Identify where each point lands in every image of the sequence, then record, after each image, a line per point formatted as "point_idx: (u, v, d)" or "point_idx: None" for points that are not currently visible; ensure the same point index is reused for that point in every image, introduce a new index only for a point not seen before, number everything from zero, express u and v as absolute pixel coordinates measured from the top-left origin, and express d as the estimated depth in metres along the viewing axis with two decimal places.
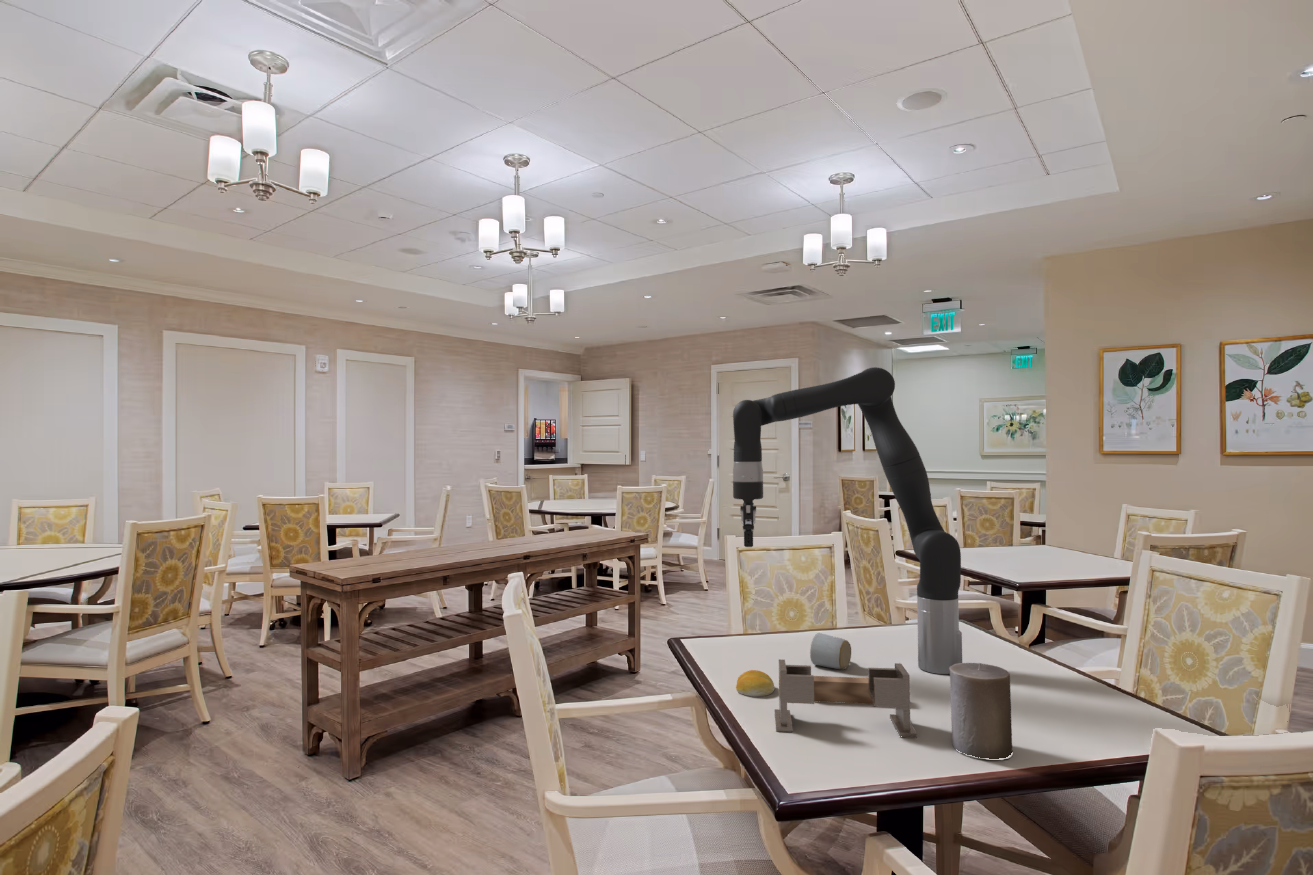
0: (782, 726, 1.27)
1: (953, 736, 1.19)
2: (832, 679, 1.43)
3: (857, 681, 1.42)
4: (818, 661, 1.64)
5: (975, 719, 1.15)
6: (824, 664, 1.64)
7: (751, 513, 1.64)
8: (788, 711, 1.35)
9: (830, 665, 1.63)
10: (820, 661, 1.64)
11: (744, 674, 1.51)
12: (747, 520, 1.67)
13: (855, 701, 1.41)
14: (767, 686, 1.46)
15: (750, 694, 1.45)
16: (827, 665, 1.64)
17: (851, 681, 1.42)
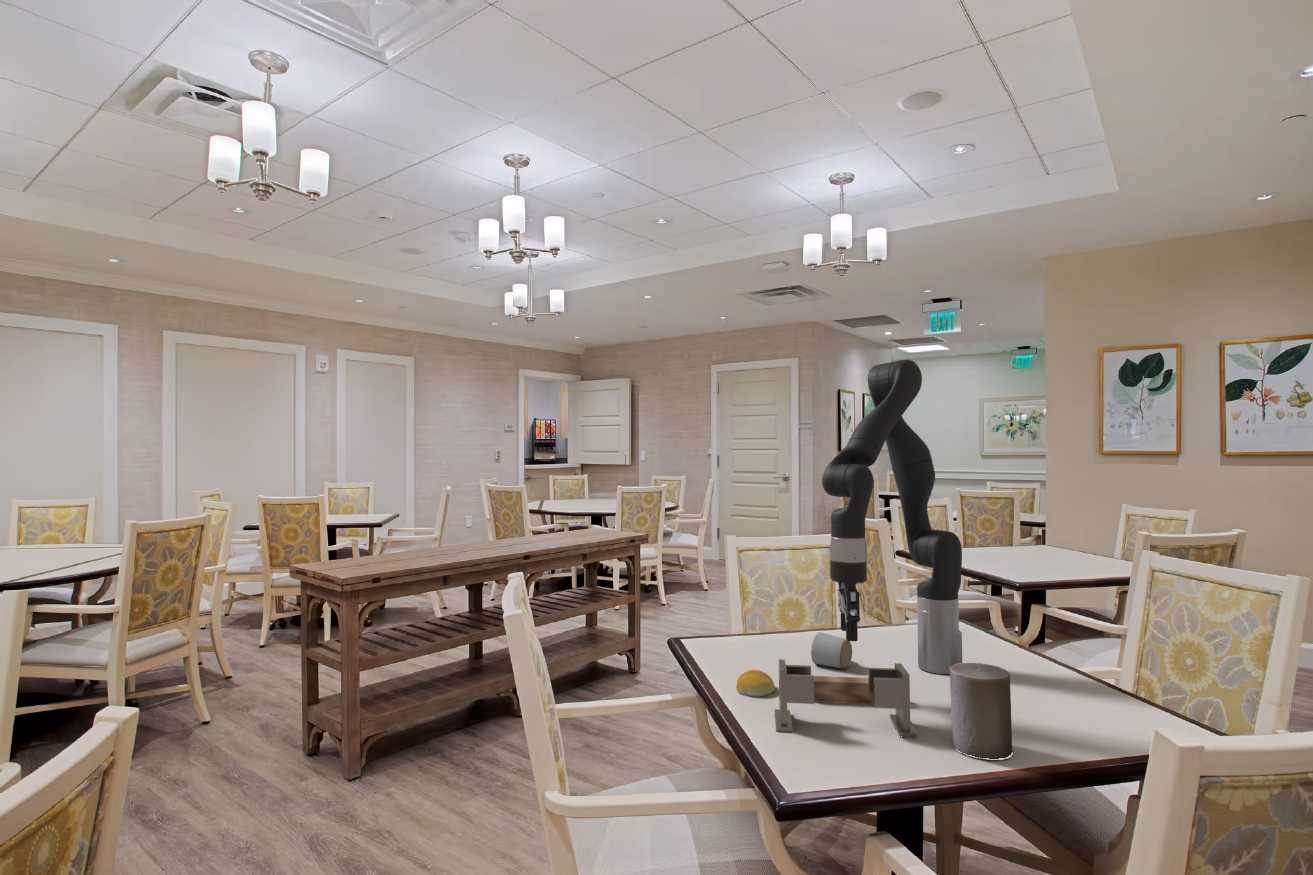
0: (782, 726, 1.27)
1: (953, 736, 1.19)
2: (832, 679, 1.43)
3: (857, 681, 1.42)
4: (819, 660, 1.65)
5: (975, 719, 1.15)
6: (825, 663, 1.64)
7: (857, 602, 1.37)
8: (788, 711, 1.35)
9: (831, 664, 1.64)
10: (821, 661, 1.65)
11: (744, 674, 1.51)
12: (850, 608, 1.40)
13: (855, 701, 1.41)
14: (767, 686, 1.46)
15: (750, 694, 1.45)
16: (828, 664, 1.64)
17: (851, 681, 1.42)
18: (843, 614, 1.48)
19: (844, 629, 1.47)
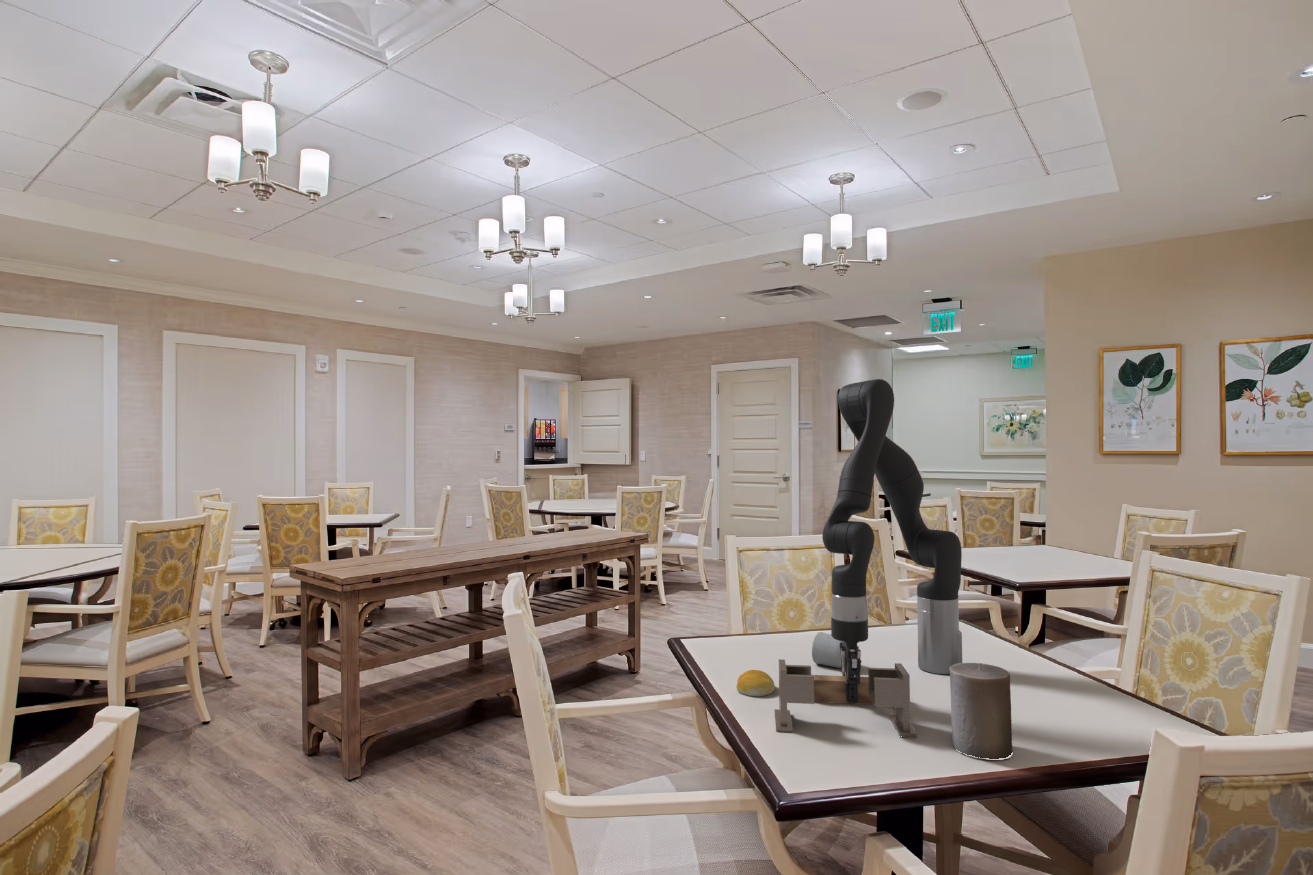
0: (782, 726, 1.27)
1: (953, 736, 1.19)
2: (832, 678, 1.43)
3: None
4: (820, 660, 1.65)
5: (975, 719, 1.15)
6: (826, 663, 1.65)
7: (858, 669, 1.37)
8: (788, 711, 1.35)
9: (832, 664, 1.64)
10: (821, 660, 1.65)
11: (744, 674, 1.51)
12: None
13: None
14: (767, 685, 1.46)
15: (750, 694, 1.46)
16: (829, 664, 1.65)
17: None
18: None
19: None
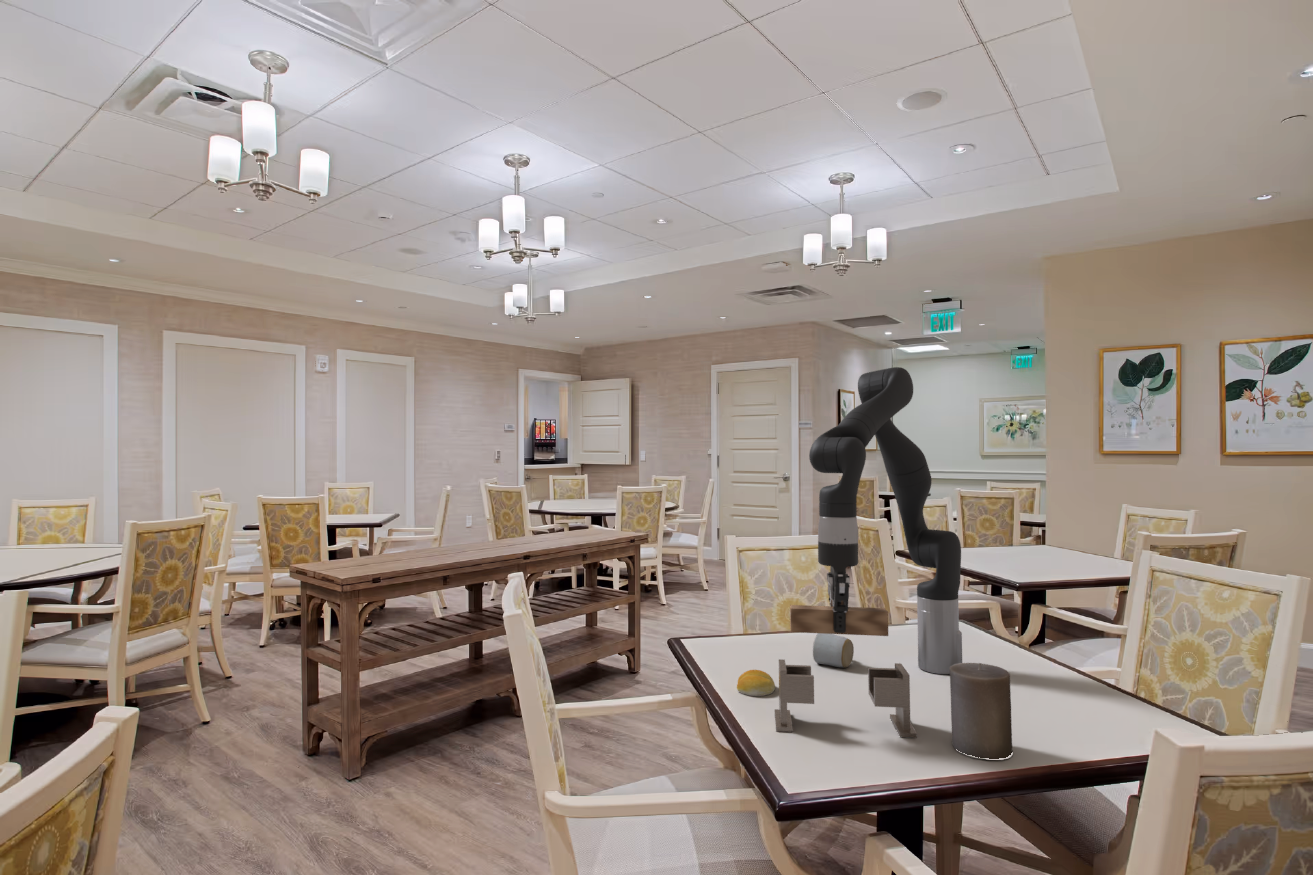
0: (782, 726, 1.27)
1: (953, 736, 1.19)
2: (818, 608, 1.31)
3: None
4: (820, 659, 1.66)
5: (975, 719, 1.15)
6: (826, 662, 1.65)
7: (846, 594, 1.25)
8: (788, 711, 1.35)
9: (832, 663, 1.64)
10: (822, 660, 1.65)
11: (745, 674, 1.51)
12: None
13: None
14: (768, 685, 1.46)
15: (751, 694, 1.46)
16: (829, 663, 1.65)
17: None
18: None
19: None
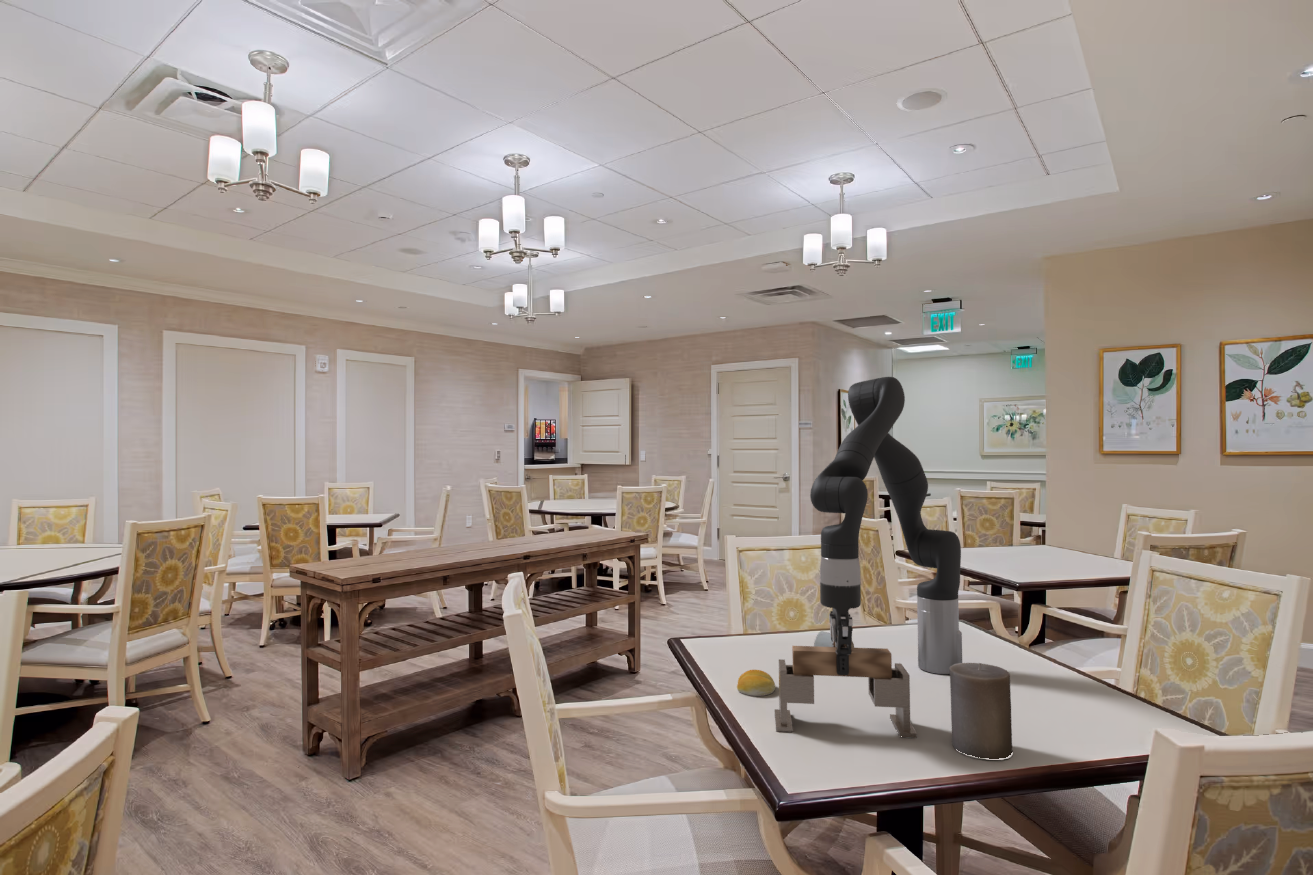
0: (782, 726, 1.27)
1: (953, 736, 1.19)
2: (820, 649, 1.30)
3: None
4: None
5: (975, 719, 1.15)
6: None
7: (849, 638, 1.24)
8: (788, 711, 1.35)
9: None
10: None
11: (745, 673, 1.51)
12: None
13: None
14: (768, 685, 1.47)
15: (751, 693, 1.46)
16: None
17: None
18: None
19: None
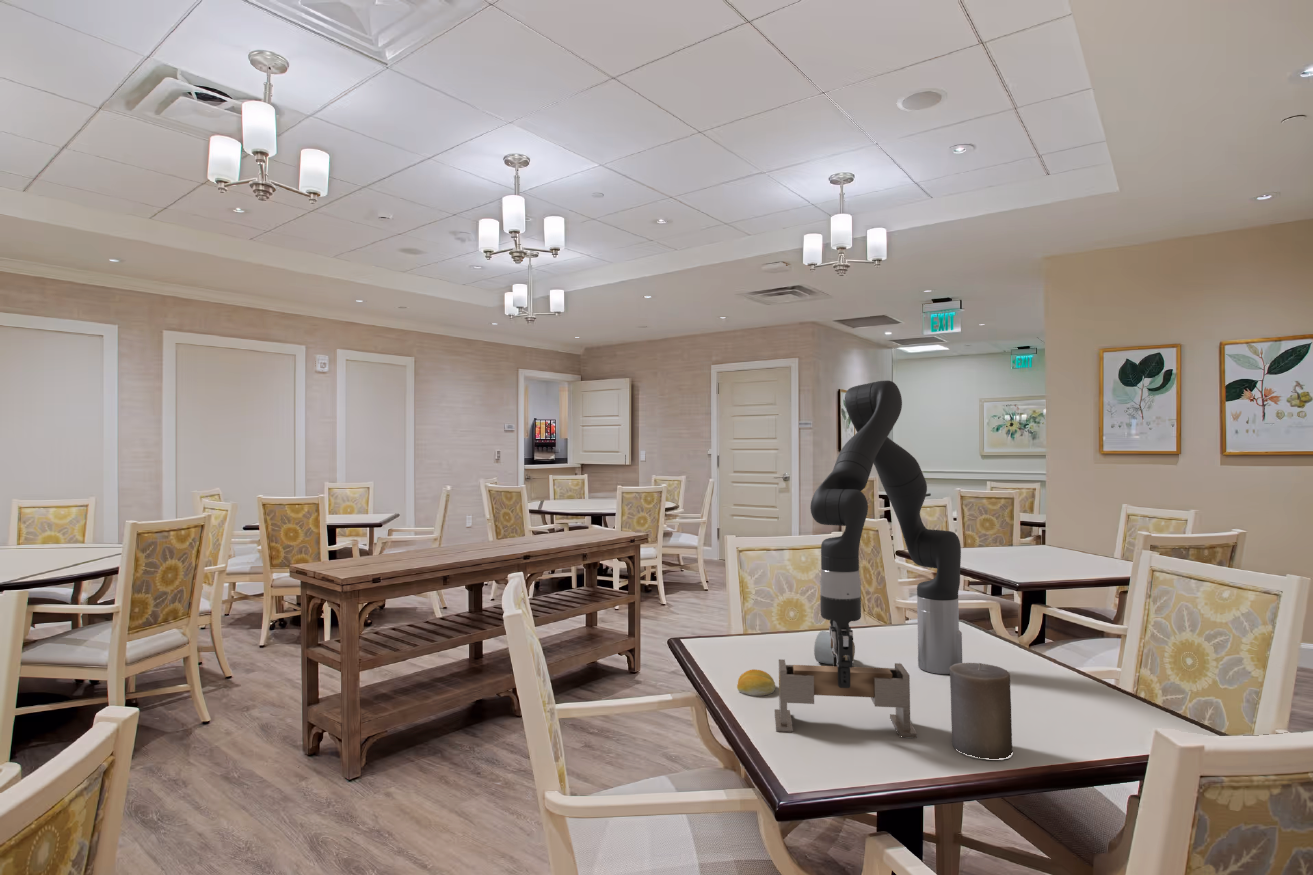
0: (782, 726, 1.27)
1: (953, 736, 1.19)
2: (821, 669, 1.30)
3: None
4: (822, 659, 1.66)
5: (975, 719, 1.15)
6: (828, 662, 1.66)
7: (850, 647, 1.23)
8: (788, 711, 1.35)
9: None
10: (824, 659, 1.66)
11: (745, 673, 1.51)
12: None
13: (847, 692, 1.28)
14: (768, 685, 1.47)
15: (751, 693, 1.46)
16: (831, 663, 1.66)
17: None
18: (836, 658, 1.33)
19: None
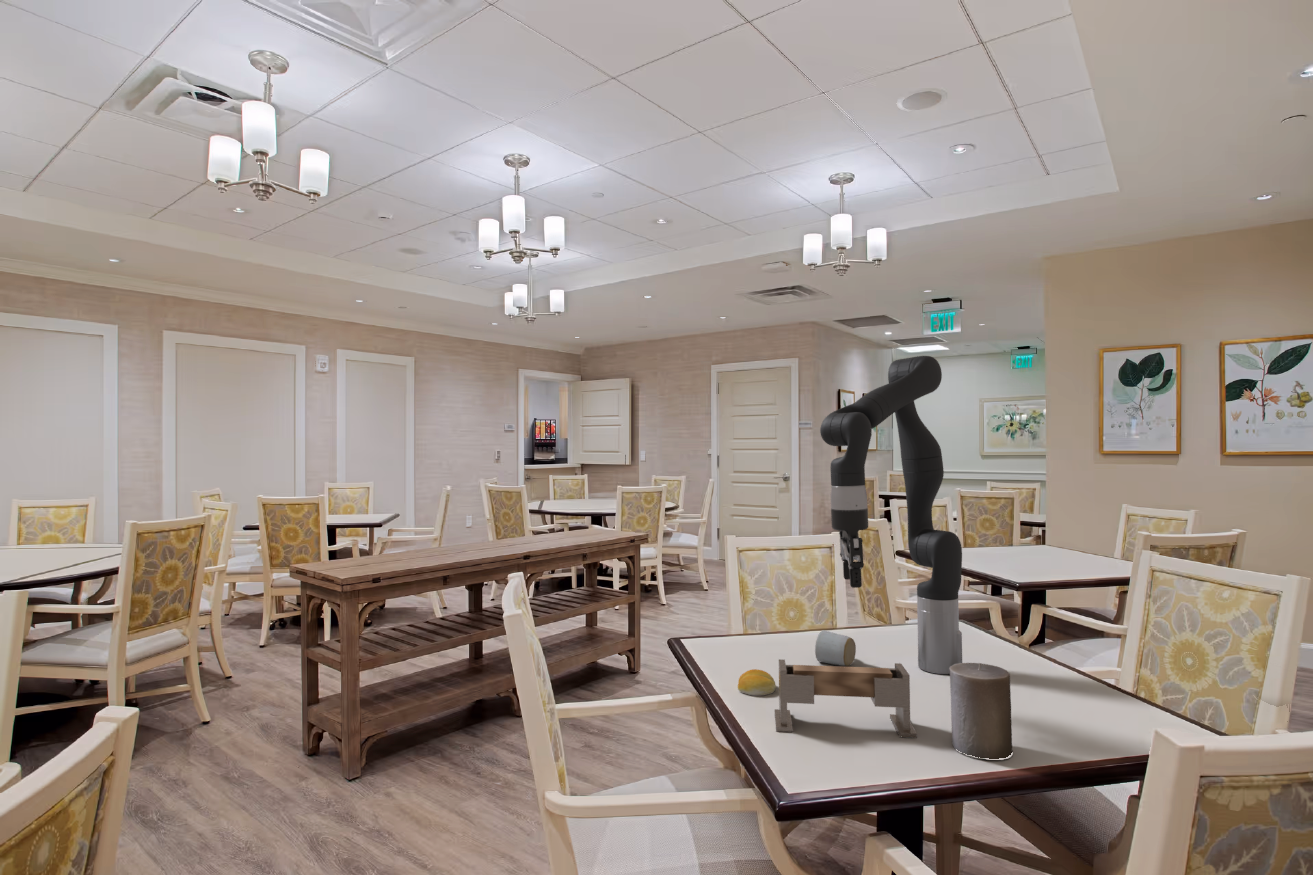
0: (782, 726, 1.27)
1: (953, 736, 1.19)
2: (821, 669, 1.30)
3: (848, 670, 1.29)
4: (823, 658, 1.67)
5: (975, 719, 1.15)
6: (829, 661, 1.66)
7: (860, 548, 1.37)
8: (788, 711, 1.35)
9: (835, 662, 1.65)
10: (824, 658, 1.67)
11: (746, 673, 1.51)
12: (853, 555, 1.40)
13: (847, 692, 1.28)
14: (768, 685, 1.47)
15: (752, 693, 1.46)
16: (832, 662, 1.66)
17: (842, 670, 1.29)
18: (845, 563, 1.48)
19: (847, 578, 1.48)
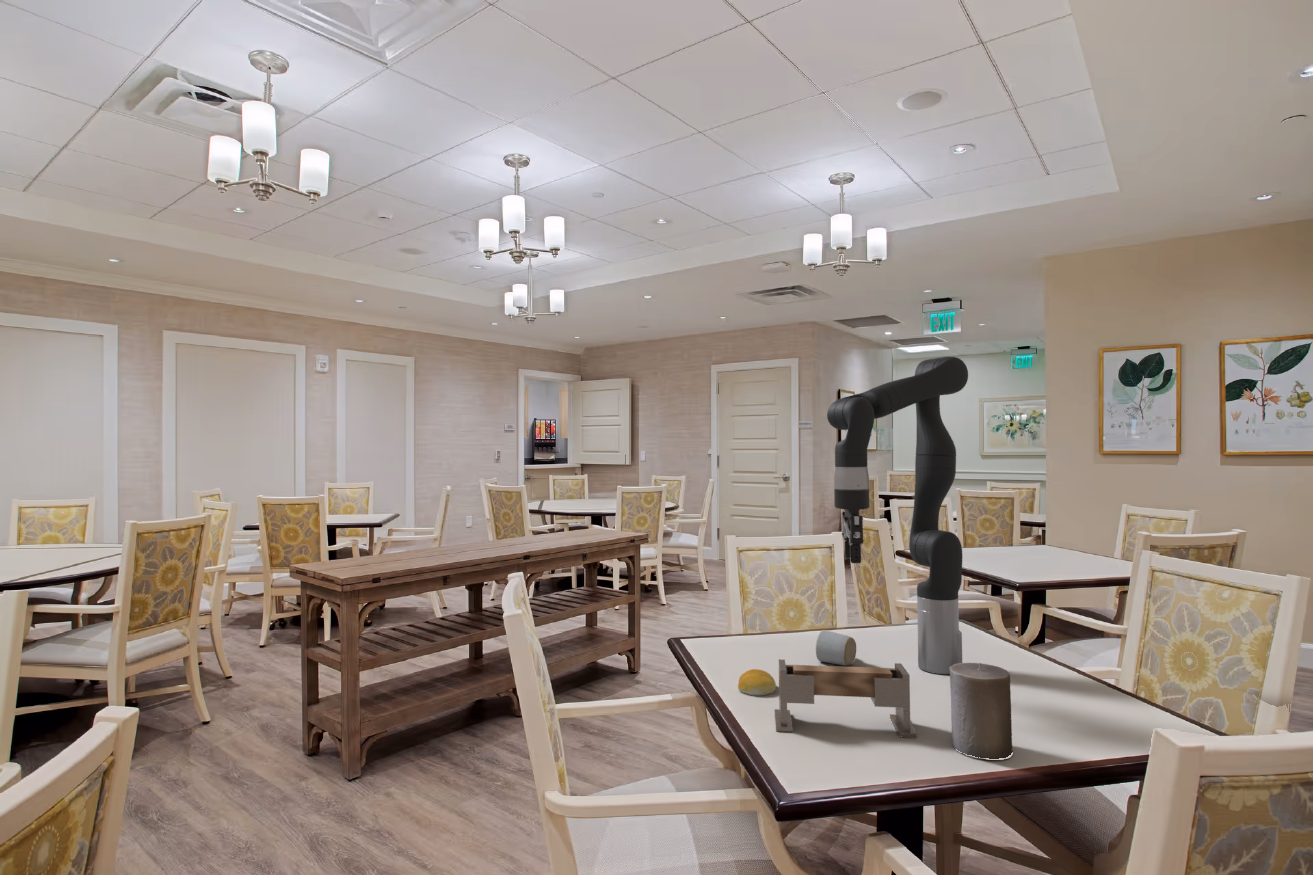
0: (782, 726, 1.27)
1: (953, 736, 1.19)
2: (821, 669, 1.30)
3: (848, 670, 1.29)
4: (823, 658, 1.67)
5: (975, 719, 1.15)
6: (829, 661, 1.67)
7: (860, 525, 1.45)
8: (788, 711, 1.35)
9: (835, 662, 1.66)
10: (825, 658, 1.67)
11: (746, 673, 1.51)
12: (853, 533, 1.48)
13: (847, 692, 1.28)
14: (769, 685, 1.47)
15: (752, 693, 1.46)
16: (832, 662, 1.66)
17: (842, 670, 1.29)
18: (847, 542, 1.56)
19: (848, 556, 1.55)
